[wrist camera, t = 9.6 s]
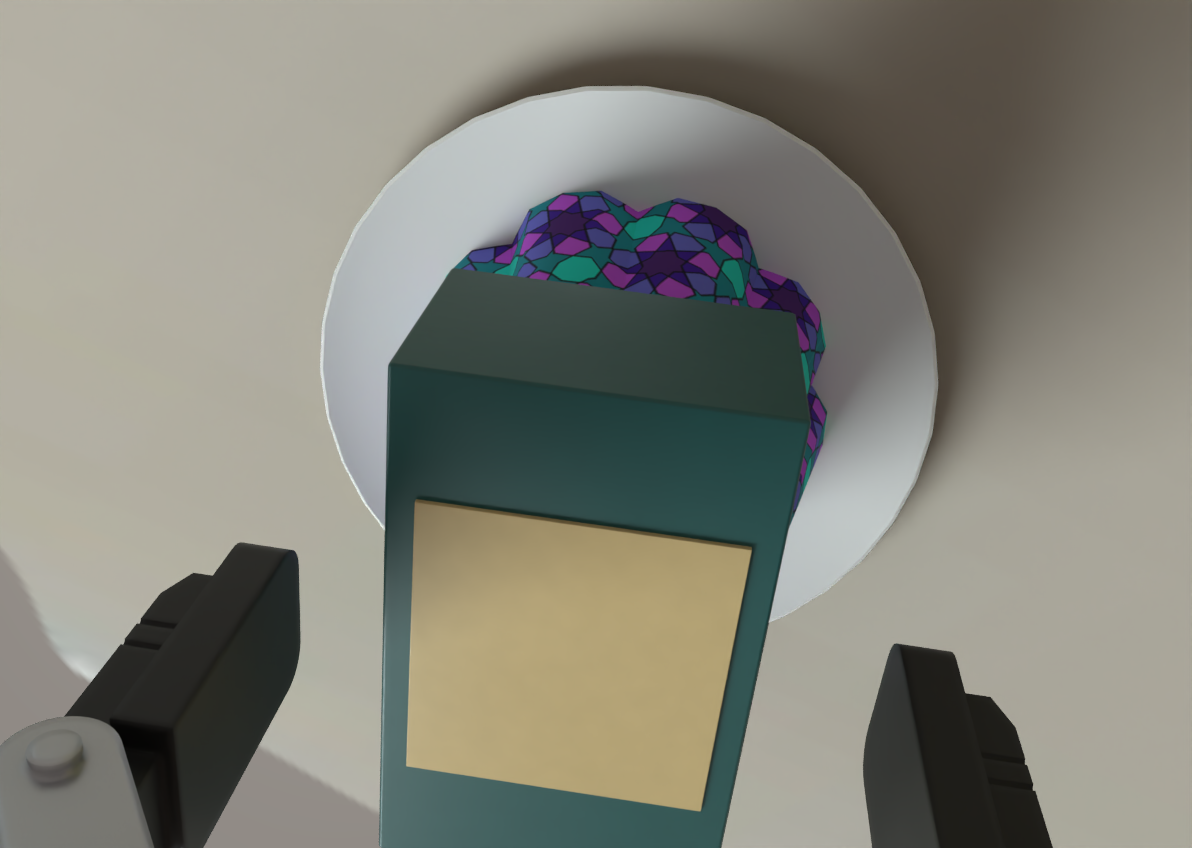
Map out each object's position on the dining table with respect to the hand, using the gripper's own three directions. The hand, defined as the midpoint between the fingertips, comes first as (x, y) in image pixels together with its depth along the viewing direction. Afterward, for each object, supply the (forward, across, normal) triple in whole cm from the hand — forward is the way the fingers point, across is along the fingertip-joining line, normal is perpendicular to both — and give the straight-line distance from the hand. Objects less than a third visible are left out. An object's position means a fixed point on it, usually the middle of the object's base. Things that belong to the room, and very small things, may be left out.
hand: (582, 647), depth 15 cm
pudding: (+9, 0, 0) cm, 9 cm away
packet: (+3, 0, 0) cm, 3 cm away
